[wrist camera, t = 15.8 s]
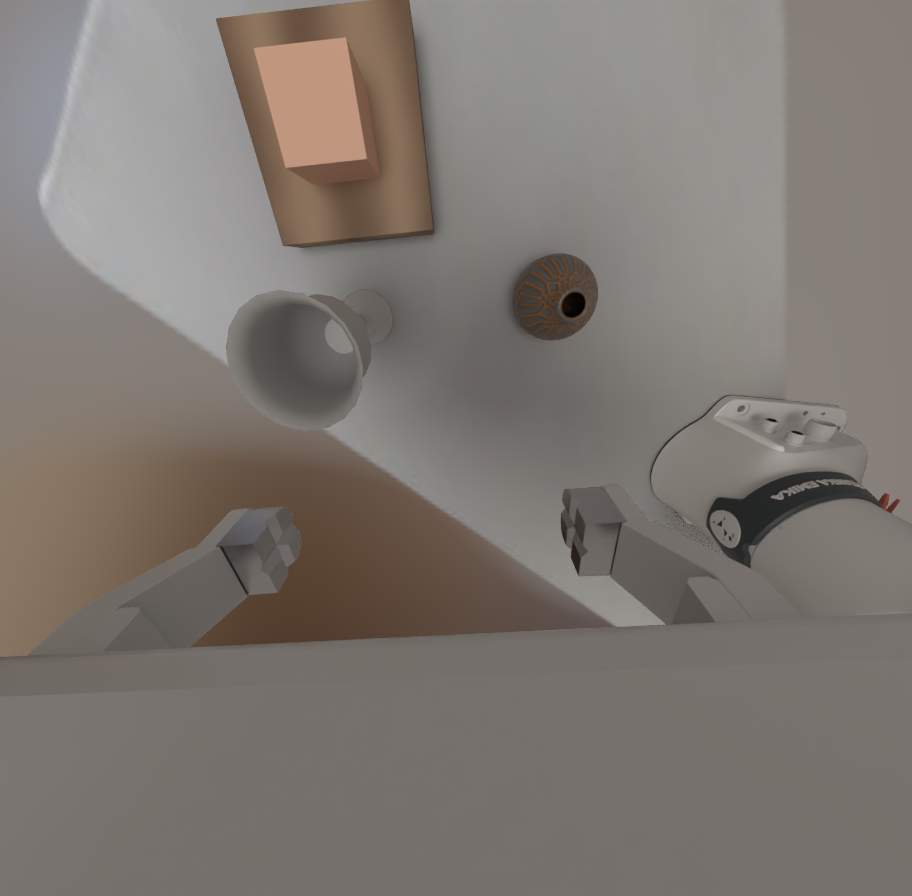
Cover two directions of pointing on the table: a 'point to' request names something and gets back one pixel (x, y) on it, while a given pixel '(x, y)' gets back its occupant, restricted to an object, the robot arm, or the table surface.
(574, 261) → the vase
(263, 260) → the table surface
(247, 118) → the board
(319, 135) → the block
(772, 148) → the table surface
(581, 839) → the robot arm
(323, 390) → the chalice
